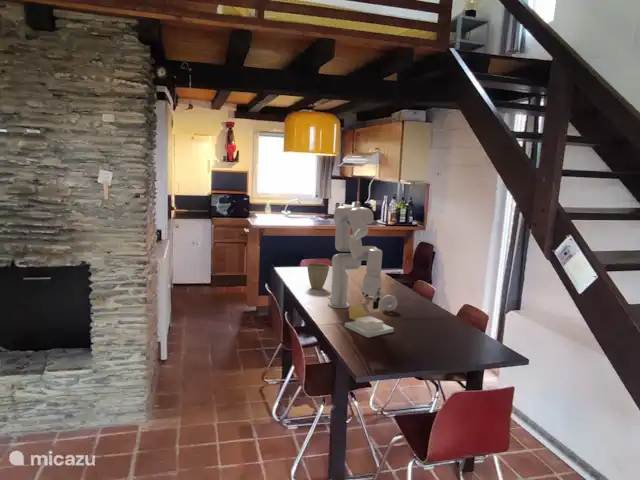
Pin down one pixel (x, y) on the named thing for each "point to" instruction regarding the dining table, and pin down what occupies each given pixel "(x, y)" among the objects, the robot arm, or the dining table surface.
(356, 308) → the mustard block
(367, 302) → the maple block
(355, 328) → the base
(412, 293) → the dining table surface
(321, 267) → the plant pot
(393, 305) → the donut
